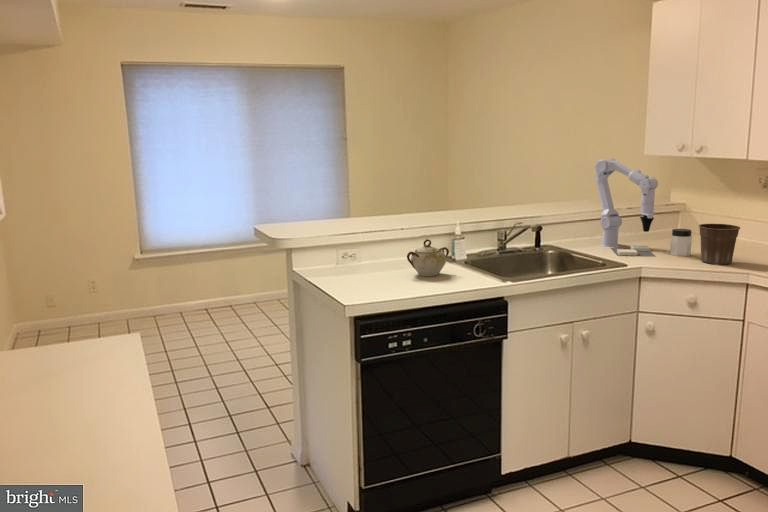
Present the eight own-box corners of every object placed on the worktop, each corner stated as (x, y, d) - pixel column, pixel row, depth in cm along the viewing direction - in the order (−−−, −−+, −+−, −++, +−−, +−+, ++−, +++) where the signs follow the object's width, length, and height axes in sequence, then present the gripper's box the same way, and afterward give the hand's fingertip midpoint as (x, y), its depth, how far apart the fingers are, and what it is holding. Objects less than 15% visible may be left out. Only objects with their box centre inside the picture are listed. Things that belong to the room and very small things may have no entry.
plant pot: (742, 266, 272) (745, 229, 269) (700, 265, 275) (703, 228, 272) (731, 259, 287) (734, 223, 284) (692, 258, 291) (694, 223, 288)
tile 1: (617, 249, 305) (619, 251, 298) (634, 249, 303) (637, 252, 296) (616, 252, 305) (619, 255, 298) (634, 253, 303) (637, 255, 297)
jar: (685, 257, 293) (687, 231, 291) (667, 255, 299) (669, 230, 296) (693, 254, 299) (694, 229, 297) (675, 252, 305) (676, 228, 302)
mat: (610, 248, 319) (610, 247, 318) (646, 249, 315) (646, 248, 315) (617, 257, 297) (617, 255, 297) (656, 257, 294) (656, 256, 294)
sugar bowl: (415, 280, 258) (415, 243, 255) (399, 273, 271) (398, 238, 268) (457, 275, 266) (457, 239, 263) (439, 268, 279) (439, 234, 276)
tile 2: (629, 248, 315) (630, 245, 315) (647, 248, 313) (647, 245, 313) (632, 251, 308) (632, 247, 308) (650, 251, 307) (650, 248, 306)
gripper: (660, 204, 297) (658, 233, 299) (653, 201, 311) (651, 229, 313) (644, 204, 298) (642, 233, 301) (637, 201, 312) (636, 229, 315)
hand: (646, 231), depth 307 cm, fingers closed
